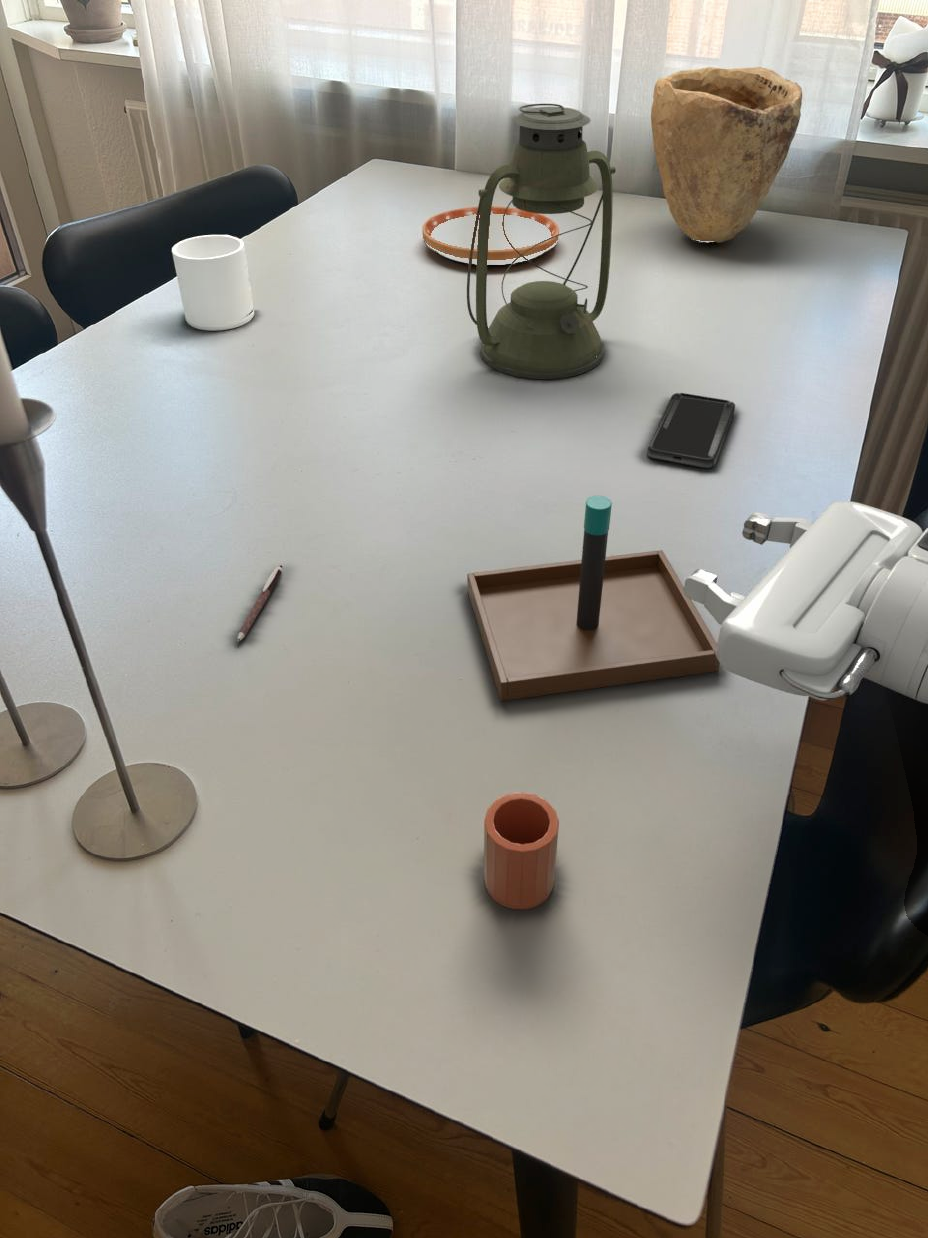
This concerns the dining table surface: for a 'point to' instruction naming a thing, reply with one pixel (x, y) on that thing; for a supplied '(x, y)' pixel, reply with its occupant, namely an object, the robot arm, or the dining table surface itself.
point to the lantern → (546, 184)
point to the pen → (260, 601)
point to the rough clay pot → (721, 144)
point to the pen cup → (520, 850)
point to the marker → (593, 561)
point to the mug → (213, 281)
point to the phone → (691, 430)
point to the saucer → (492, 254)
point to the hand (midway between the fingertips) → (719, 551)
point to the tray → (583, 659)
